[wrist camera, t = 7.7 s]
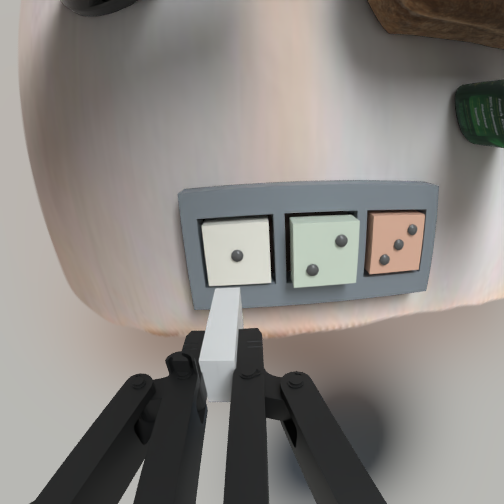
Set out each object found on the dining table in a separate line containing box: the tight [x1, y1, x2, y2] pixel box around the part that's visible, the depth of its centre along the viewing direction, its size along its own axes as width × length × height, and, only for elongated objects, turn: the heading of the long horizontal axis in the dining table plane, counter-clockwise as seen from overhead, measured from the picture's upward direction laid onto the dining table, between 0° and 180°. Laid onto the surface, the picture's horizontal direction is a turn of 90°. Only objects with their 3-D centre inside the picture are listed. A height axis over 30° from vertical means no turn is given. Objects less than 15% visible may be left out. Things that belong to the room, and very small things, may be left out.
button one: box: [202, 215, 271, 286], centre depth 28 cm, size 6×6×3 cm
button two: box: [289, 215, 360, 288], centre depth 27 cm, size 6×6×3 cm
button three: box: [364, 209, 425, 274], centre depth 28 cm, size 6×6×3 cm
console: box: [178, 180, 439, 310], centre depth 29 cm, size 26×12×3 cm, turn 94°
